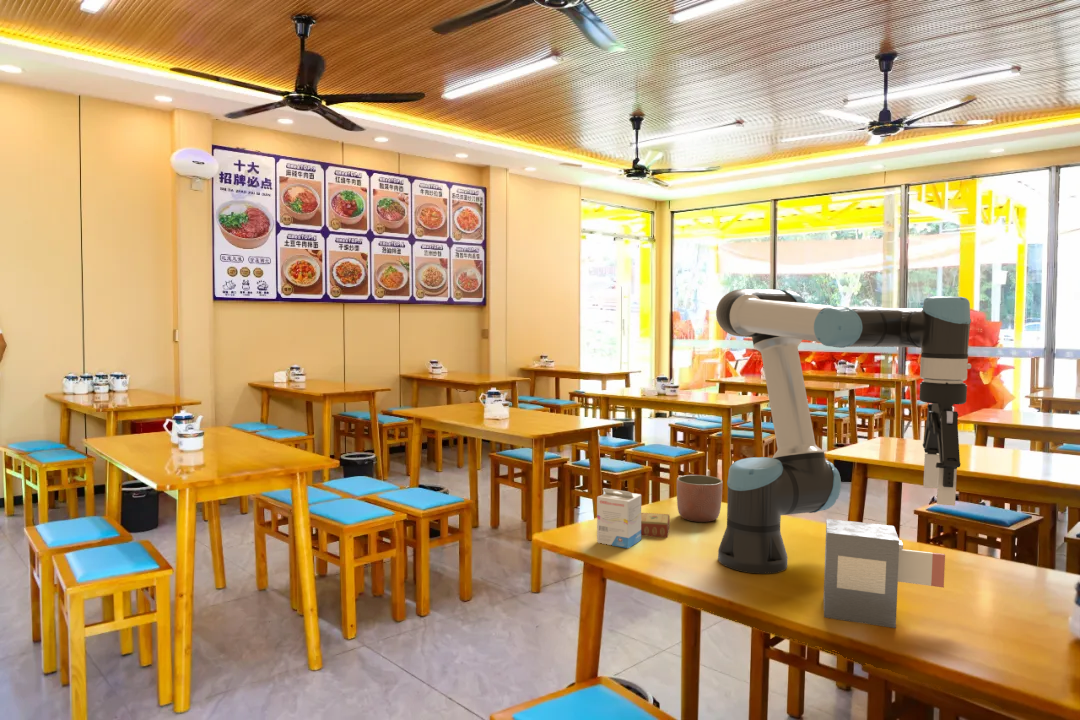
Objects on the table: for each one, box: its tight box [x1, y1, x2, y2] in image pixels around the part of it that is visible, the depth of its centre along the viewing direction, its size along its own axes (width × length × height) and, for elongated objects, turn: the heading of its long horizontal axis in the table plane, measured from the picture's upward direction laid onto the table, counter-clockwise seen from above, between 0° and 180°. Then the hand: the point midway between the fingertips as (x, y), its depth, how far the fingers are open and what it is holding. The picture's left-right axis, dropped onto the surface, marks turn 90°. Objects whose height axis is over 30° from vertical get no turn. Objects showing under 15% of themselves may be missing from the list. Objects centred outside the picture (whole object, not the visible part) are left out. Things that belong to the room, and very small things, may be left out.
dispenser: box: [823, 518, 904, 629], centre depth 134 cm, size 13×10×16 cm
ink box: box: [596, 487, 642, 549], centre depth 176 cm, size 9×8×13 cm
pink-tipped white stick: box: [898, 548, 946, 589], centre depth 132 cm, size 18×1×6 cm, turn 69°
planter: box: [676, 474, 724, 523], centre depth 198 cm, size 12×12×11 cm
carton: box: [641, 512, 671, 538], centre depth 186 cm, size 8×16×4 cm, turn 76°
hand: (938, 495), depth 131 cm, fingers open, 13 cm apart
